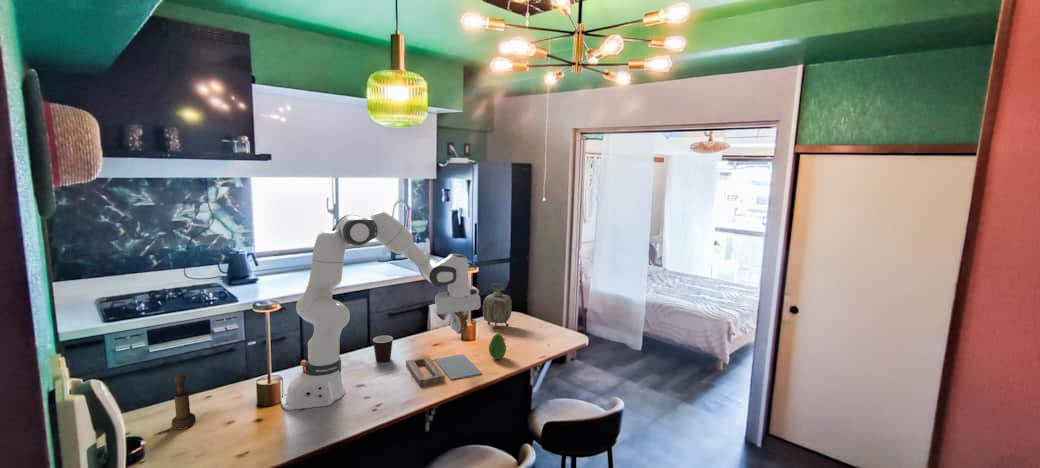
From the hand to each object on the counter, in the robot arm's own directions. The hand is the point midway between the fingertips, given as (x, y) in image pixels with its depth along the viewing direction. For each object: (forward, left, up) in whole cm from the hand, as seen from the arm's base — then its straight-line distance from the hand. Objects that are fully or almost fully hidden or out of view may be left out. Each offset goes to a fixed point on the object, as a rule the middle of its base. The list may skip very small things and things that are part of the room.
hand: (457, 321), depth 210 cm
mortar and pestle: (-100, -4, -22) cm, 102 cm away
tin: (-1, 0, -4) cm, 4 cm away
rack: (-15, 0, -21) cm, 26 cm away
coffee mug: (-27, +22, -22) cm, 41 cm away
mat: (0, 0, -21) cm, 21 cm away
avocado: (+20, +1, -22) cm, 30 cm away
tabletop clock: (+38, +39, -22) cm, 58 cm away
